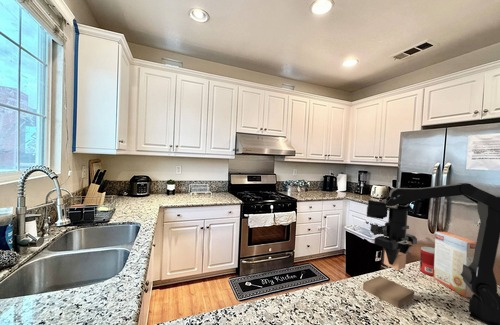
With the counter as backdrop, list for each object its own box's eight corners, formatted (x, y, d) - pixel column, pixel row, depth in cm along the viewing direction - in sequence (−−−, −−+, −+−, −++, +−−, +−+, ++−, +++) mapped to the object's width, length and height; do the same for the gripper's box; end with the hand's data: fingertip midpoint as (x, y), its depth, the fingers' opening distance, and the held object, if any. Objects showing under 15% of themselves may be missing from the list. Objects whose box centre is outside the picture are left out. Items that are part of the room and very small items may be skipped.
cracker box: (481, 299, 78) (483, 243, 79) (464, 298, 78) (466, 242, 79) (446, 279, 92) (448, 231, 93) (432, 278, 92) (434, 230, 93)
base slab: (413, 299, 77) (414, 291, 77) (397, 309, 70) (398, 300, 70) (379, 283, 87) (379, 275, 87) (362, 290, 81) (363, 282, 81)
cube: (405, 267, 78) (406, 254, 78) (398, 270, 75) (399, 256, 75) (390, 261, 82) (391, 249, 82) (383, 263, 80) (384, 250, 80)
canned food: (447, 279, 92) (447, 254, 93) (426, 276, 94) (427, 251, 94) (435, 270, 100) (436, 247, 100) (416, 268, 102) (417, 245, 102)
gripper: (388, 215, 90) (385, 251, 90) (361, 217, 81) (359, 257, 81) (419, 222, 81) (416, 262, 81) (393, 225, 72) (389, 271, 71)
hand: (394, 263), depth 79 cm, fingers closed on cube, 5 cm apart
